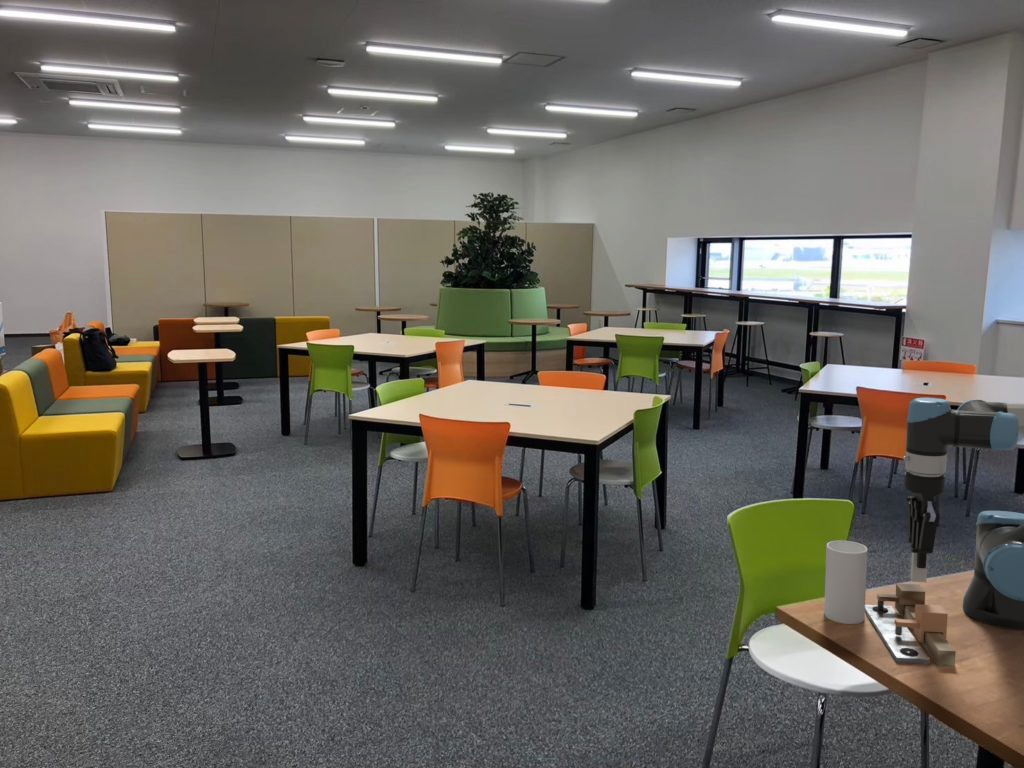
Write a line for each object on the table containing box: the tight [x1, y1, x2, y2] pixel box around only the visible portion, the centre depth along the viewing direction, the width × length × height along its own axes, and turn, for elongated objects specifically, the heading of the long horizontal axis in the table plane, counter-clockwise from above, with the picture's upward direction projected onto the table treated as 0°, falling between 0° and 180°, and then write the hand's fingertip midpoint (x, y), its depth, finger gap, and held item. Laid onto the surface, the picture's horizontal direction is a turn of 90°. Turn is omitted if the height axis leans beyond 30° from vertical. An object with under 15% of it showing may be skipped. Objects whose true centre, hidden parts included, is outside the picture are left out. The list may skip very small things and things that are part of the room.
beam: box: [901, 605, 957, 667], centre depth 163 cm, size 3×25×3 cm, turn 170°
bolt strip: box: [865, 604, 931, 665], centre depth 164 cm, size 6×25×1 cm, turn 170°
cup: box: [823, 540, 868, 625], centre depth 172 cm, size 8×8×16 cm
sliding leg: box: [895, 604, 948, 643], centre depth 160 cm, size 9×4×6 cm, turn 80°
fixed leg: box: [876, 583, 926, 616], centre depth 173 cm, size 9×4×6 cm, turn 80°
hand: (918, 580), depth 166 cm, fingers closed
